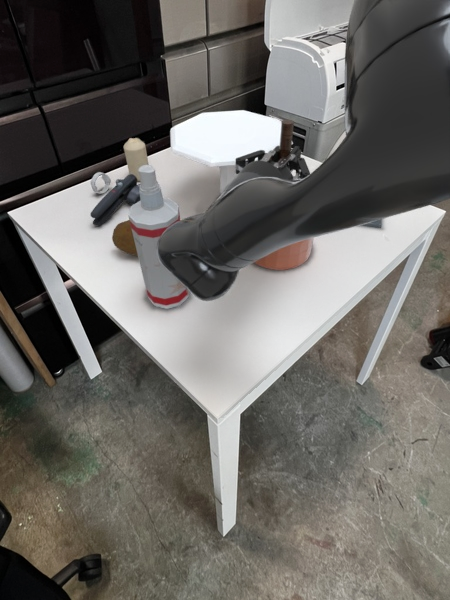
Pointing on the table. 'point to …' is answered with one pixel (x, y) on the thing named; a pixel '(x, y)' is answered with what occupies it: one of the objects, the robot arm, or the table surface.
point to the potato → (124, 238)
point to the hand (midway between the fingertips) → (289, 150)
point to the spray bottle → (155, 240)
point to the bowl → (287, 256)
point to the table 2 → (224, 139)
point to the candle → (135, 155)
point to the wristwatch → (106, 180)
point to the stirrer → (285, 138)
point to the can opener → (116, 198)
